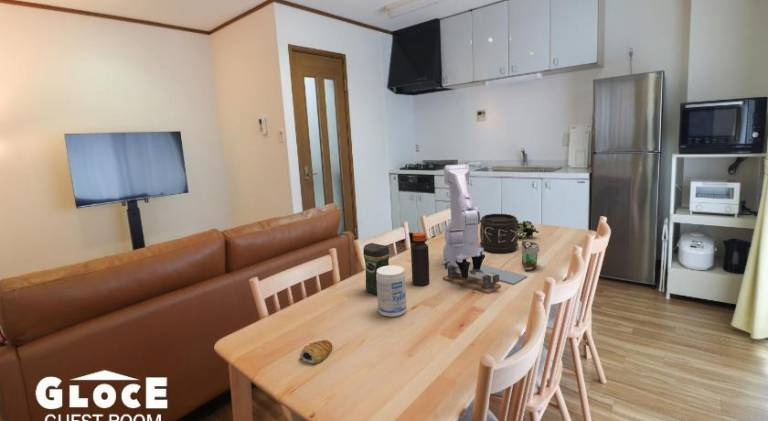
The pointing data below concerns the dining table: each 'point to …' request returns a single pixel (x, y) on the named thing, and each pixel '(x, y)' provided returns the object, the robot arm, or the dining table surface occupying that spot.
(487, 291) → the wooden stand
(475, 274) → the steel rail
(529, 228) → the green leafy bush
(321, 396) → the dining table surface
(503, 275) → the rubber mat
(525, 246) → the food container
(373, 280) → the coffee jar
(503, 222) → the wooden barrel
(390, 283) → the supplement tub
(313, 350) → the pastry
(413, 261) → the vinegar
